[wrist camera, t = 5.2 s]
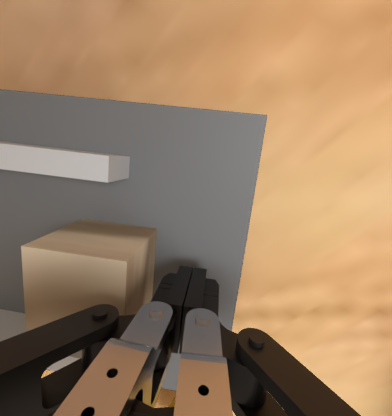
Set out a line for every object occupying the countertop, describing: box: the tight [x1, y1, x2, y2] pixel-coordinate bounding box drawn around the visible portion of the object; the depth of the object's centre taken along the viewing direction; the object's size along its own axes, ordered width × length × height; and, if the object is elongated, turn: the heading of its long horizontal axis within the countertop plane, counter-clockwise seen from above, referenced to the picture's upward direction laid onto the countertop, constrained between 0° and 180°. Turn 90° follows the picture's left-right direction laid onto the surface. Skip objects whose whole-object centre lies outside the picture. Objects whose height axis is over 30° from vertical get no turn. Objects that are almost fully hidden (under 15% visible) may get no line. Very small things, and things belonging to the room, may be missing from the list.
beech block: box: [21, 219, 157, 332], centre depth 12 cm, size 4×4×4 cm
